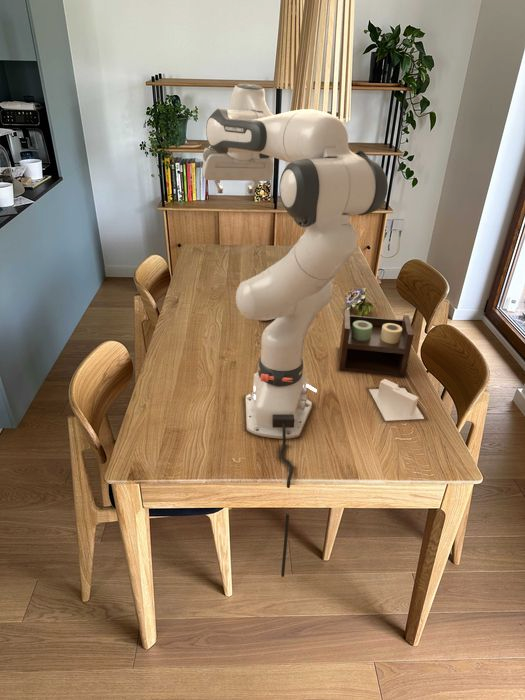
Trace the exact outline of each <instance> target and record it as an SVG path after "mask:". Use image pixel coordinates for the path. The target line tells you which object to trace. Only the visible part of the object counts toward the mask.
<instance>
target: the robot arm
mask: <svg viewBox="0 0 525 700" xmlns="http://www.w3.org/2000/svg"><path fill="white" fill-rule="evenodd" d="M265 92H266V91H265V89H264V87H262V86H261V85H259V84H254V83H247V82H246V83H243V82H242V83H238V84H236V85H235V86H234V88H233V90H232V94H231V97H230V103H229V109H226V108H216V109H215V110H214V111H213V112H212V113H211V114H210V116H209V117H208V118H207V120H206V125H205V134H206V140H207V143H208V144H209V146H207V147H205V148H204V149H203V152H202V160H203V161H202V166H201V173H202V176H203V178H204V179H205V180H206V181H214V184H215V186H216V188H215V189H216V190H215V191H216V193H217V194H219V195H220V194H223V193H224V192H223V191H224V186H223V185H220V183H221V181H246V182H247V181H249V182H251V181H252V183H251V184H250V185H247V191H246V192H247V194H249V195H254V192H255V190H256V188H258V186H259V184H260V182H269V181H270V180H272V178H273V177H274V176H273V175H274V168H275V166H274V164H275V163H274V160H273V158H275V159H278V160H280V161H284V162H286V163H288V164H286V166H285V167H284V169H283V171H282V172H281V175H280V179H279V188H278V189H279V198H280V202H281V204H282V207H283V208H284V209H285V211H286V212H287V214H288V215H289V217H291V218H293V221H294V222H295V224H296V225H298V226H299V227H301V228H305V231H304V233H303V234H302V235H301V236H300V238H299V239H298V240H297V241H296V243H295V244H294V245H293V247H292V248H291V249H290V250H289V252H287V254H286V255H285V256H284V257H283V258H281V259H279V260H278V261H276V262H274V264H272V265H271V266H269V267H268V268H265V269H264V270H263V271H261V272H259V273H258V274H256V275H254V276H251V277H250V278H248V279H245V280H243V281H241V282H240V283H239V285H238V287H237V289H236V292H235V304H236V308H237V310H238V312H239V313H240V314H241V316H242V317H244V318H245V319H246V320H248V321H261V320H270V321H272V322H271V323H269V324H268V325H267V326H266V327H265V329H264V330H263V332H262V334H261V339H260V340H261V341H260V343H261V344H260V357H259V359H258V364H257V365H258V366H257V367H258V368H257V370H258V371H256V372H255V373H253V386H252V387H253V389H252V391H251V392H250V393H248V394H246V395H245V398H244V399H245V400H244V401H245V423H246V424H245V425H246V426H245V427H246V431H247V432H249V433H251V434H254V435H255V436H258V437H263V438H270V439H276V440H277V439H279V440H282V445H281V448H280V451H279V457H280V459H281V460H282V462H284V463H285V464H286V465H287V466H288V468H289V472H288V475H287V480H286V488H287V489H290V488H291V481H292V477H293V473H294V468H293V465H292V463H291V462H290V460H288V459H287V458H286V457H285V456H284V451H285V449H286V446H287V445H286V444H287V443H286V442H287V440H288V439H294V438H298V437H300V435H301V433H302V431H303V429H304V427H305V424H306V422H307V419H308V417H309V415H310V412H311V410H312V408H313V402H312V401H311V400H309V399H308V398H307V393H308V389H309V390H311V391H312V392H315V393H317V389H316V388H315V387H313V386H312V385H310V384H308V379H307V378H306V377H305V376H304V375H303V373H304V360H303V354H304V347H305V346H304V345H305V339H306V336H307V333H308V332H309V331H308V330H309V328H310V327H311V325H312V323H313V322H314V320H315V318H316V317H317V315H318V314H319V313H320V312H321V311H322V310H323V309H324V308H325V307H326V306H327V305H329V304H330V303H331V300H332V299H333V294H334V284H333V282H332V280H333V279H334V278H335V277H336V276H337V275H338V274H339V273H340V272H341V271H342V270H343V269H344V267H345V266H346V265H347V263H348V262H349V260H350V259H351V257H352V256H353V254H354V252H355V250H356V248H357V245H358V232H357V230H356V228H355V226H354V224H352V222H351V221H350V217H352V216H356V215H357V216H366V215H369V214H371V213H375V212H376V211H378V210H380V208H381V207H382V206H383V204H384V203H385V201H386V198H387V194H388V189H389V182H388V177H387V175H386V173H385V171H384V169H383V167H382V166H381V165H380V164H379V163H378V162H376V161H375V160H373V159H372V158H369V156H368V155H367V153H366V152H365V151H363V150H358V151H355V152H353V151H351V149H350V147H349V133H348V129H347V127H346V125H345V124H344V122H343V121H342V120H341V119H339V118H338V117H337V116H335V115H333V114H332V113H331V114H330V113H328V112H326V111H322V110H318V109H307V108H306V109H305V108H303V109H296V110H290V111H286V112H281V113H278V114H274V113H273V112H272V111H271V110H270V109H269V107H268V104H267V102H266V93H265ZM271 319H275V320H271ZM284 523H285V525H284V539H283V550H282V561H281V572H280V573H281V575H280V576H281V577H282V578H284V577H285V570H286V559H287V548H288V538H289V525H290V514H288V513H287V514H285V522H284Z"/></svg>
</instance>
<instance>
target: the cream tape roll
mask: <svg viewBox="0 0 525 700" xmlns="http://www.w3.org/2000/svg"><path fill="white" fill-rule="evenodd" d="M401 333H402V327H401V326H399V325H397V324H393V323H386V324H384V325H383V326H382V331H381V337H380V338H381V340H382V341H384V342H386V343H390V344H395V343H399V342H400V338H401Z"/></svg>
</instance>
